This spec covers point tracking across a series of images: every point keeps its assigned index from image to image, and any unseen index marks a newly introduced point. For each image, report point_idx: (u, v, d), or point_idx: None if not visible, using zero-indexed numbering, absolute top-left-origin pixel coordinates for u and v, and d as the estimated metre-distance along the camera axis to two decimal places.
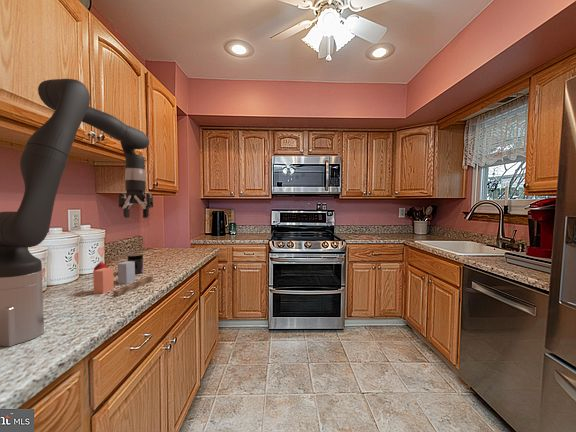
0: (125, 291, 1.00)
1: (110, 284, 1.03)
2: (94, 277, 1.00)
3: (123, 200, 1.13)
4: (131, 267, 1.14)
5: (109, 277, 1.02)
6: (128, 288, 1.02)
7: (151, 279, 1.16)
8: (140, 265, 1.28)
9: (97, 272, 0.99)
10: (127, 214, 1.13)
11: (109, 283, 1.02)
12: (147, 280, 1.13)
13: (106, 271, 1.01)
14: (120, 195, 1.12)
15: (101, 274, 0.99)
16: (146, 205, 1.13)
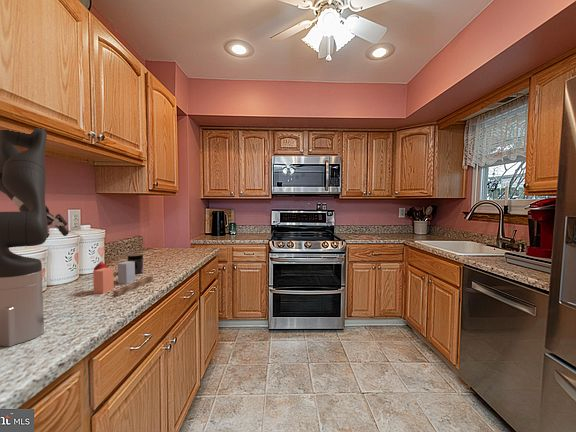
0: (125, 291, 1.00)
1: (110, 284, 1.03)
2: (94, 277, 1.00)
3: None
4: (131, 267, 1.14)
5: (109, 277, 1.02)
6: (128, 288, 1.02)
7: (151, 279, 1.16)
8: (140, 265, 1.28)
9: (97, 272, 0.99)
10: None
11: (109, 283, 1.02)
12: (147, 280, 1.13)
13: (106, 271, 1.01)
14: None
15: (101, 274, 0.99)
16: (57, 226, 1.08)
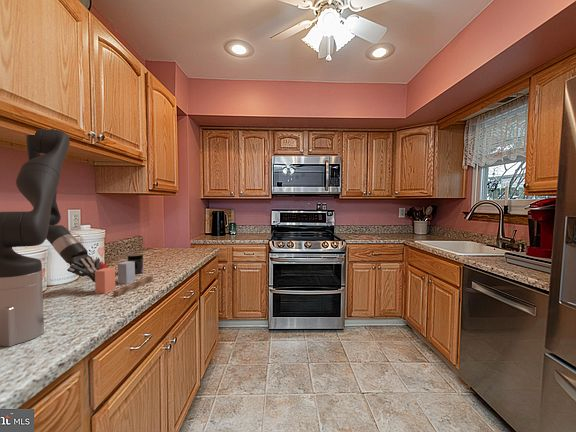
0: (125, 291, 1.00)
1: (112, 284, 1.03)
2: (96, 277, 0.99)
3: None
4: (131, 267, 1.14)
5: (111, 277, 1.02)
6: (128, 288, 1.02)
7: (151, 279, 1.16)
8: (140, 265, 1.28)
9: (99, 272, 0.99)
10: None
11: (111, 283, 1.02)
12: (147, 280, 1.13)
13: (108, 271, 1.01)
14: (74, 266, 0.97)
15: (103, 274, 0.99)
16: None
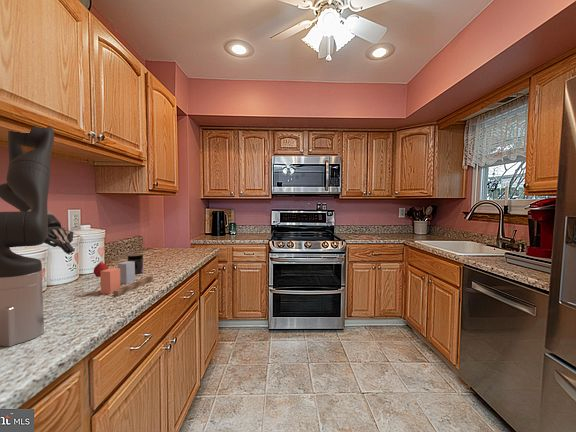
0: (125, 291, 1.00)
1: (117, 284, 1.02)
2: (101, 278, 0.99)
3: None
4: (131, 267, 1.14)
5: (116, 277, 1.02)
6: (128, 288, 1.02)
7: (151, 279, 1.16)
8: (140, 265, 1.28)
9: (104, 272, 0.99)
10: None
11: (116, 284, 1.02)
12: (147, 280, 1.13)
13: (113, 271, 1.00)
14: None
15: (108, 274, 0.99)
16: None
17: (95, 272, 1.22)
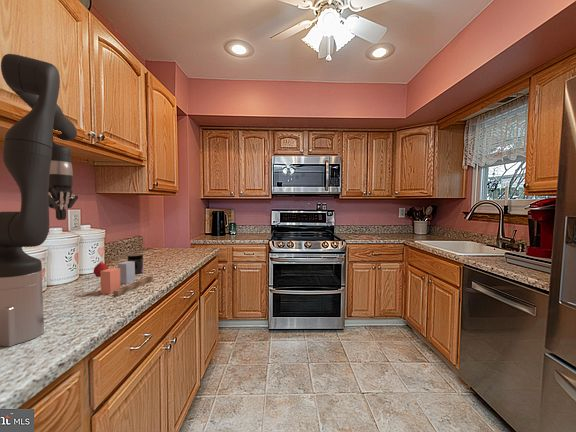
0: (125, 291, 1.00)
1: (117, 284, 1.02)
2: (101, 278, 0.99)
3: None
4: (131, 267, 1.14)
5: (116, 277, 1.02)
6: (128, 288, 1.02)
7: (151, 279, 1.16)
8: (140, 265, 1.28)
9: (104, 272, 0.99)
10: None
11: (116, 284, 1.02)
12: (147, 280, 1.13)
13: (113, 271, 1.00)
14: (49, 196, 0.95)
15: (108, 274, 0.99)
16: None
17: (95, 272, 1.22)
